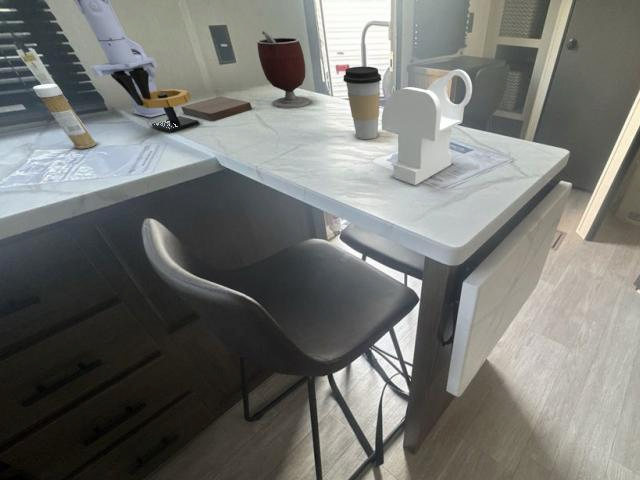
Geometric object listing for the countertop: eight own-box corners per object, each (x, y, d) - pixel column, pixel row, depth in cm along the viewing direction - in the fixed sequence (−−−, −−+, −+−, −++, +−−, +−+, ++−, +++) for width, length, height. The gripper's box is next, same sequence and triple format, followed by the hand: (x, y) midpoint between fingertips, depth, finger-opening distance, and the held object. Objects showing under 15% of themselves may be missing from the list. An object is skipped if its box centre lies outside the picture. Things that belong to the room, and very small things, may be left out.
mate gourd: (281, 97, 116) (263, 25, 101) (317, 98, 114) (304, 25, 100) (262, 109, 105) (240, 30, 91) (302, 110, 104) (285, 31, 89)
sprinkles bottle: (98, 142, 84) (58, 82, 74) (95, 147, 81) (53, 86, 72) (77, 144, 83) (34, 84, 73) (73, 150, 80) (28, 88, 70)
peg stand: (153, 127, 92) (136, 96, 86) (181, 119, 98) (168, 89, 92) (171, 132, 89) (155, 100, 83) (199, 124, 94) (186, 93, 89)
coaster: (184, 113, 102) (180, 106, 100) (223, 102, 111) (221, 96, 109) (213, 121, 96) (210, 113, 95) (252, 109, 105) (250, 102, 104)
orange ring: (130, 104, 87) (126, 96, 86) (173, 94, 95) (170, 87, 94) (156, 110, 83) (152, 102, 81) (199, 99, 90) (196, 92, 89)
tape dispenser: (421, 154, 77) (426, 64, 64) (467, 168, 71) (481, 72, 58) (383, 174, 69) (379, 76, 56) (431, 191, 64) (438, 86, 51)
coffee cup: (389, 132, 88) (387, 67, 77) (373, 144, 82) (369, 75, 71) (360, 128, 91) (354, 64, 80) (343, 138, 85) (334, 71, 74)
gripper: (86, 44, 70) (125, 112, 79) (150, 37, 78) (178, 99, 88) (71, 42, 72) (110, 108, 82) (135, 35, 81) (164, 96, 91)
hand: (145, 103), depth 85 cm, fingers closed on orange ring, 2 cm apart
